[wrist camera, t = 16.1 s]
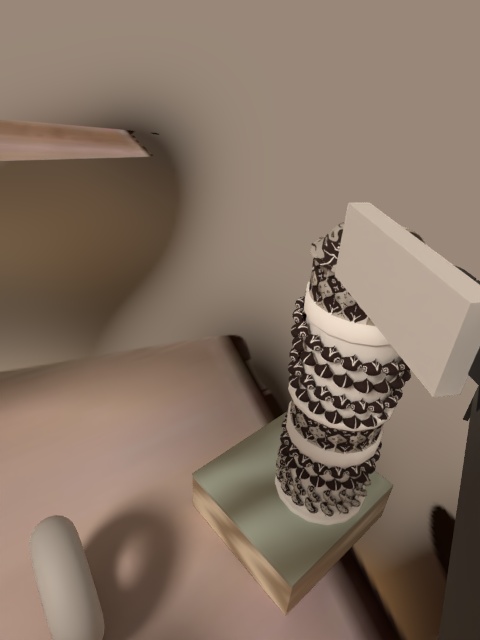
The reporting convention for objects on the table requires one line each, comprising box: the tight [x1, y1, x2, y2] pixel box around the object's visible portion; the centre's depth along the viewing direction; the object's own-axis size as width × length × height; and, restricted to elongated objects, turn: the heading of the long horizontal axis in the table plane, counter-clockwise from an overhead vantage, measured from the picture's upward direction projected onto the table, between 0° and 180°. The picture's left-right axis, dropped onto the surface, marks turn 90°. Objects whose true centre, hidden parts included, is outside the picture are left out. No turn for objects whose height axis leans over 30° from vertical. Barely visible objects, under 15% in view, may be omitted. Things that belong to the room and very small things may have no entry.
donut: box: [29, 516, 105, 640], centre depth 32 cm, size 10×4×10 cm, turn 32°
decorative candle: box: [275, 222, 425, 526], centre depth 34 cm, size 9×9×25 cm
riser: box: [193, 411, 393, 615], centre depth 42 cm, size 13×14×5 cm
